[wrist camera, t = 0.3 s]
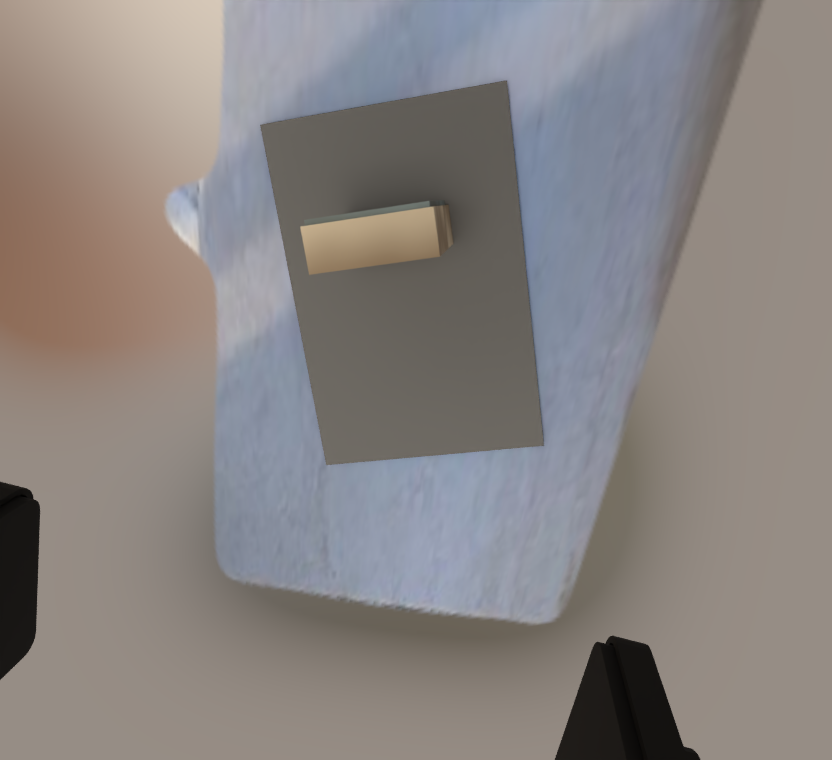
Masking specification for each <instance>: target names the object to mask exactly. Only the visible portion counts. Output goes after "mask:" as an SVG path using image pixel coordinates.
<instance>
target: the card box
mask: <svg viewBox="0 0 832 760" xmlns="http://www.w3.org/2000/svg"><path fill="white" fill-rule="evenodd" d="M304 223H305V226H301V227H300V228H301V234H302V239H303V244H304V250H305V255H306V261H307V266H308V271H309V275H311V274H318V273H326V272H333V271H340V270H347V269H354V268H362V267H369V266H376V265H383V264H390V263H398V262H405V261H412V260H419V259H426V258H434V257H440V256H441V255H442V254H443V253H444V252H445V251H446V250H447V249H448V248H449V247H450V246H452V245H453V244H454V243H453V235H452V227H451V220H450V212H449V205H445V200H441V201H425V202H419V203H412V204H405V205H399V206H392V207H386V208H379V209H373V210H366V211H360V212H353V213H347V214H340V215H334V216H327V217H321V218H314V219H307V220H304Z"/></svg>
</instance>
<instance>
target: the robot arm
mask: <svg viewBox="0 0 832 760" xmlns="http://www.w3.org/2000/svg"><path fill="white" fill-rule="evenodd" d="M39 525H40V506H39V503H38V501H36V500H34V499H33V495H32V492H31V491H30V490H28V489H27V488H23V487H19V486H15V485H11V484H7V483H3V482H0V679H1V678H3V677H4V676H5V675H6V674H7V673H8V672H9V671H10V670H11V669H12V668H13V667H14V666H15V665H16V664H17V663H18V662H19V661H20V660H21V659H22V658H23V657H24V656H25V655H26V654H27V653H28V651H29V649H30V648H31V646H32V644H33V642H34V639H35V634H36V615H37V584H38V555H39ZM555 760H700V758H699V756H698V754H697V753H696V752H695V751H694V750H693V749H691V748H687V747H683V744H682V741H681V738H680V735H679V732H678V729H677V726H676V723H675V720H674V717H673V714H672V711H671V708H670V705H669V703H668V699H667V697H666V693H665V690H664V687H663V685H662V682H661V679H660V676H659V673H658V670H657V667H656V664H655V661H654V658H653V655H652V652H651V650H650V648H649V646H648V645H646V644H643V643H639V642H635V641H631V640H628V639H624V638H620V637H615V636H610V637H609V638H608V640H607V641H606V644H604V643H600V642H596V643H595V645H594V647H593V649H592V651H591V654H590V657H589V660H588V663H587V666H586V669H585V672H584V676H583V678H582V681H581V684H580V687H579V690H578V693H577V696H576V699H575V702H574V705H573V708H572V710H571V714H570V716H569V719H568V723H567V725H566V728H565V731H564V734H563V737H562V740H561V743H560V746H559V749H558V752H557V755H556V758H555Z"/></svg>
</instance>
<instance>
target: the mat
mask: <svg viewBox="0 0 832 760" xmlns="http://www.w3.org/2000/svg"><path fill="white" fill-rule="evenodd" d="M260 126H261V131H262V136H263V141H264V146H265V152H266V157H267V162H268V167H269V172H270V177H271V182H272V188H273V193H274V198H275V203H276V208H277V213H278V218H279V224H280V229H281V234H282V239H283V244H284V249H285V254H286V260H287V265H288V270H289V275H290V280H291V285H292V290H293V296H294V301H295V306H296V311H297V316H298V321H299V326H300V332H301V337H302V342H303V347H304V352H305V357H306V362H307V368H308V373H309V378H310V383H311V388H312V393H313V398H314V404H315V409H316V414H317V419H318V424H319V429H320V434H321V440H322V445H323V450H324V455H325V460H326V465H332V464H343V463H354V462H365V461H376V460H388V459H399V458H410V457H421V456H433V455H444V454H455V453H466V452H477V451H489V450H500V449H511V448H522V447H534V446H544V443H543V433H542V423H541V413H540V403H539V393H538V384H537V374H536V364H535V354H534V344H533V334H532V324H531V315H530V305H529V295H528V285H527V275H526V265H525V255H524V245H523V236H522V226H521V216H520V206H519V196H518V186H517V176H516V167H515V157H514V147H513V137H512V127H511V117H510V107H509V97H508V88H507V81H501V82H496V83H490V84H485V85H479V86H474V87H468V88H462V89H457V90H451V91H446V92H440V93H435V94H429V95H424V96H418V97H412V98H407V99H401V100H396V101H390V102H385V103H379V104H373V105H368V106H362V107H357V108H351V109H346V110H340V111H334V112H329V113H323V114H318V115H312V116H307V117H301V118H296V119H290V120H284V121H279V122H273V123H268V124H262V125H260ZM441 200H445V205H449V212H450V220H451V227H452V235H453V243H454V244H453V245H452V246H450V247H449V248H448V249H447V250H446V251H445V252H444V253H443V254H442V255H441V256H440V257H434V258H426V259H419V260H412V261H405V262H398V263H390V264H383V265H376V266H369V267H362V268H354V269H347V270H340V271H333V272H326V273H318V274H311V275H309V271H308V266H307V261H306V255H305V250H304V244H303V239H302V234H301V228H300V227H301V226H305V223H304V220H307V219H314V218H321V217H327V216H334V215H340V214H347V213H353V212H360V211H366V210H373V209H379V208H386V207H392V206H399V205H405V204H412V203H419V202H425V201H441Z"/></svg>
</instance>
